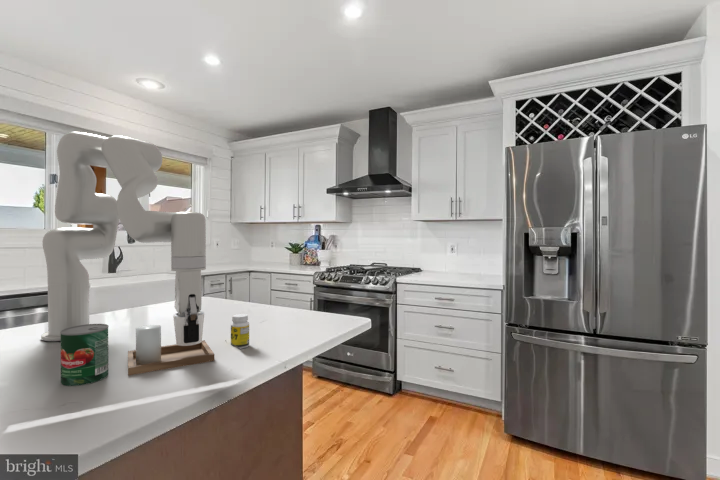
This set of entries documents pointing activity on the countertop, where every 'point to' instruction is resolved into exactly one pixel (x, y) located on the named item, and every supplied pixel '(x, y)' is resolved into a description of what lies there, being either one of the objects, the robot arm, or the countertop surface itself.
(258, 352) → the countertop surface
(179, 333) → the white tapered cup
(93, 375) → the canned tomato
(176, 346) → the walnut tray
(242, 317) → the supplement bottle
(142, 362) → the white pillar candle
